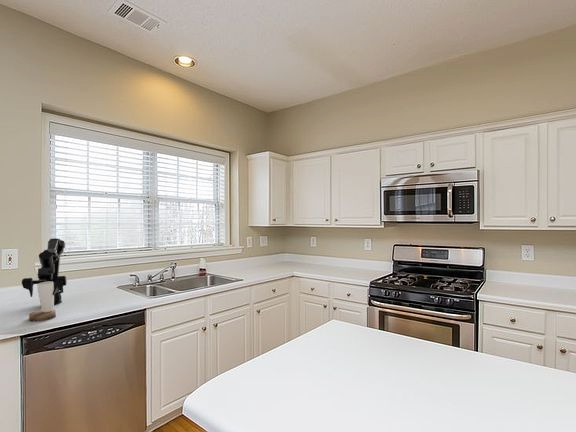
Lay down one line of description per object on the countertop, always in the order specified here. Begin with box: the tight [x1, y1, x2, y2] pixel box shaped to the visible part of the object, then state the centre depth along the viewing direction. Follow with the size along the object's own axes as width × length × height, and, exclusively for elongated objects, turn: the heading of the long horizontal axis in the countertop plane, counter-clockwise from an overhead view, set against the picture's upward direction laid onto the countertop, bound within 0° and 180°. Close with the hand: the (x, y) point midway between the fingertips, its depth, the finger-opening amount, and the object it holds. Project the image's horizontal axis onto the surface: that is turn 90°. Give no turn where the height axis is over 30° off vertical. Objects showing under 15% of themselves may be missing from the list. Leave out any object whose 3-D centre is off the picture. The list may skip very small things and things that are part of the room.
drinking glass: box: [37, 281, 55, 313], centre depth 170 cm, size 7×7×15 cm
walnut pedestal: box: [28, 309, 57, 323], centre depth 169 cm, size 11×11×3 cm
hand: (42, 295), depth 167 cm, fingers open, 9 cm apart
